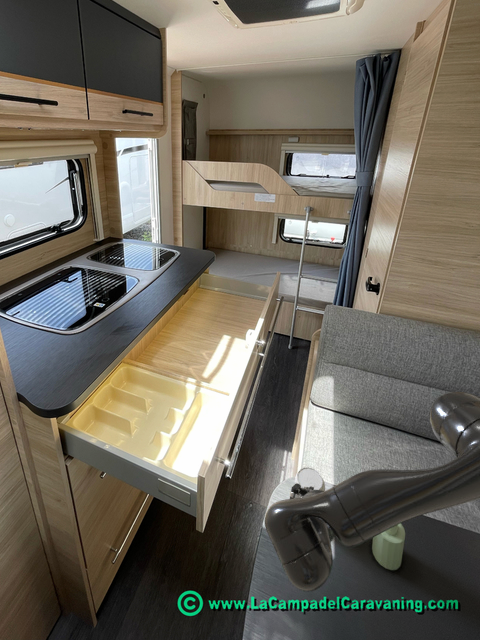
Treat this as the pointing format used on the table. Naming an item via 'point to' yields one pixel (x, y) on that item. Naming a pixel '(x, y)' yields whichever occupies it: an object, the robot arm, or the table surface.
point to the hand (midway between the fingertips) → (330, 500)
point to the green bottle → (389, 547)
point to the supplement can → (310, 479)
